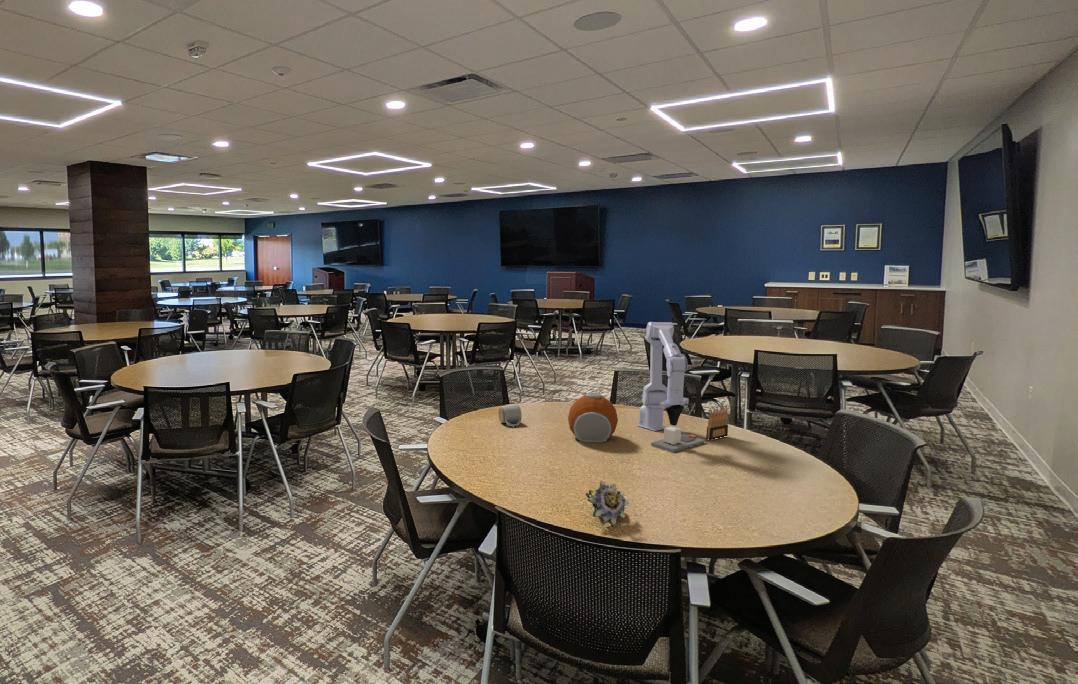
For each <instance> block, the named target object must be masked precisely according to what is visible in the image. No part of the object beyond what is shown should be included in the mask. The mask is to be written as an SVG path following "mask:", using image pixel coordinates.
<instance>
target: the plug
mask: <svg viewBox="0 0 1078 684" xmlns="http://www.w3.org/2000/svg"><path fill="white" fill-rule="evenodd" d="M681 434H682V429H681V428H678V427H675V426H667V428H664V429H663V439H664V440H663V441H664V442H666V444H669V443H670V444H669V445H672V446H674V445H675V444H676V443H680V441H681Z"/></svg>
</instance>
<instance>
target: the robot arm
mask: <svg viewBox="0 0 1078 684" xmlns="http://www.w3.org/2000/svg"><path fill="white" fill-rule="evenodd" d="M674 327H675V326H674V324H673V323H672V322H671V321H668V322H664V321H663V322H659V321H658V322H655V321H649V322H648V323H647V325H646V331H645V332H646V333H645V338H646V342H648V343H649V344H650V345H649V346H650V366H649V369H650V371H649V382H648V383H647V384H646V385H645V386H643V388H642V396H641V400H642V404H643V405H642V406H641V407H640V409H639V416H638V417H639V419H638V424H637V427H641V428H644V429H646V430H651V431H654V432H657V431H661V430H664V428H668V426H665V425H664V411H666V414H667V416H668V420H669V425H670V426H672V427H675V426H677V425H678V423H679V419H680V416H681V414H682V412H683V411H684V409H685V406H683V405H688V404H689V401H690V399H689V398H688V397H684V384H685V383H684V382H685V373H686V372H687V370H688V367H689V365H688V364H689V363H688V359H687V357H686V356H685V355H683V354H682V352H681V350H680V347H679V346H678V345H677V344H676V343H674V340H673V336H674V331H675V328H674ZM663 354H664V357H665V359H666V365H665V366H666V376H667V377H668V378H667V386H665V384H663Z"/></svg>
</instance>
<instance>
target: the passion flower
mask: <svg viewBox="0 0 1078 684" xmlns="http://www.w3.org/2000/svg"><path fill="white" fill-rule="evenodd" d="M598 486H599V487H598V489H595V490H593V489H589V490H588V492H586V493H585V496H586V497H587V498H588V499H587V501H588V502H589V503H591V504H592V507H593V511H592V516H593V518H594V517H595V518H596V517H601V521H602V522H603V524H606V523H607V522H608V523H609V524H610V526H615V525H616V523H617V517H620V518H621V519H625V517H626V513H625V512H626V509H627V507H625V506H628V505H630V500H627V499H626V498H625V492H621V491H620V490H619V489H618V488H617V484H616V483H612V484H611V485H609V484H605V482H604V480H599V485H598ZM594 492H595V493H594ZM593 493H594V494H593Z"/></svg>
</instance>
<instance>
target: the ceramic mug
mask: <svg viewBox="0 0 1078 684" xmlns="http://www.w3.org/2000/svg"><path fill="white" fill-rule="evenodd" d="M497 414H498V415H497V416H498V420H499V422H500V423H501V424H502V423H506V424H505V425H507V426H508V427H510V426H517V427H519V426H520V423H521V422H522V410H521V407H520V405H519V404H518V403H517V404H515V403H514V404H510V405H504V406H501V407H500V408H499V409H498V412H497ZM518 425H519V426H518Z"/></svg>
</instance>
